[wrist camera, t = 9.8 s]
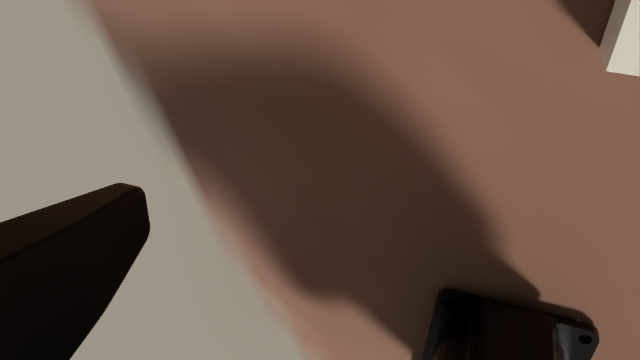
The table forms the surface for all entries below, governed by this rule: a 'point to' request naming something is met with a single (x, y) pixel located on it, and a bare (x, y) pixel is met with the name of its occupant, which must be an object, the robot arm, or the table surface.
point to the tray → (622, 39)
